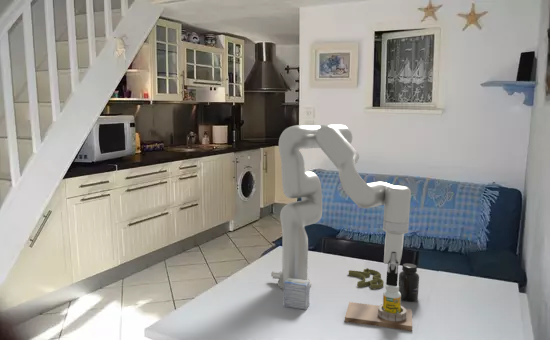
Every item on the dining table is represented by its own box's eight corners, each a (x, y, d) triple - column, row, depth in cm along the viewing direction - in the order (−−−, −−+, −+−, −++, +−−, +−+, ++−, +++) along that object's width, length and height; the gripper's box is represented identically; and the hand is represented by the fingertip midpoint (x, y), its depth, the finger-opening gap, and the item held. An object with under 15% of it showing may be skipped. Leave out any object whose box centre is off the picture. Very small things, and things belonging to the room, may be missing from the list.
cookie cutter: (346, 273, 184) (346, 268, 184) (374, 272, 185) (375, 268, 185) (359, 290, 166) (359, 285, 166) (390, 289, 168) (391, 284, 167)
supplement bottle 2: (419, 303, 154) (420, 269, 153) (398, 301, 156) (400, 267, 154) (416, 295, 161) (418, 263, 160) (397, 293, 162) (398, 261, 161)
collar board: (344, 321, 140) (345, 311, 139) (349, 306, 151) (349, 296, 151) (412, 330, 134) (412, 319, 134) (411, 314, 146) (411, 303, 145)
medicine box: (309, 305, 152) (310, 280, 151) (306, 310, 147) (306, 285, 146) (287, 301, 154) (287, 277, 153) (283, 306, 150) (283, 281, 149)
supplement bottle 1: (399, 311, 144) (400, 282, 143) (401, 319, 138) (402, 289, 137) (381, 310, 144) (383, 281, 143) (383, 317, 139) (384, 288, 138)
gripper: (384, 218, 147) (381, 268, 150) (381, 232, 131) (378, 288, 133) (408, 220, 145) (404, 271, 148) (408, 234, 129) (404, 291, 131)
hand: (392, 279), depth 140 cm, fingers open, 9 cm apart
